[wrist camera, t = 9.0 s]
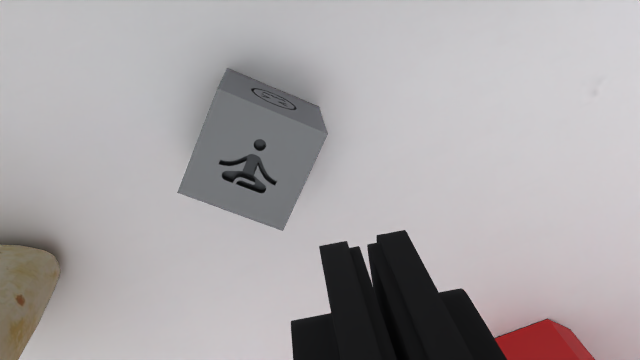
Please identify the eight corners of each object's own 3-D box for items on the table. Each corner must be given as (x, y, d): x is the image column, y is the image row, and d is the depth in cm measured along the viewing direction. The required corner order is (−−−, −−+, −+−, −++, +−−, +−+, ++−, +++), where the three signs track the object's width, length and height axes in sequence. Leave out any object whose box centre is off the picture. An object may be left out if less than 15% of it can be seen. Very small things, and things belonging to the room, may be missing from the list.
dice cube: (193, 156, 29) (177, 192, 24) (227, 68, 27) (217, 88, 22) (281, 189, 30) (282, 230, 25) (318, 106, 28) (327, 133, 24)
